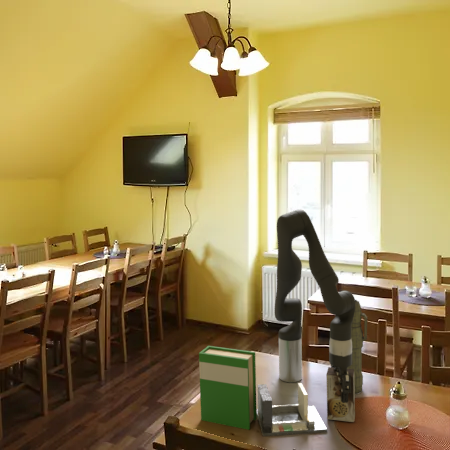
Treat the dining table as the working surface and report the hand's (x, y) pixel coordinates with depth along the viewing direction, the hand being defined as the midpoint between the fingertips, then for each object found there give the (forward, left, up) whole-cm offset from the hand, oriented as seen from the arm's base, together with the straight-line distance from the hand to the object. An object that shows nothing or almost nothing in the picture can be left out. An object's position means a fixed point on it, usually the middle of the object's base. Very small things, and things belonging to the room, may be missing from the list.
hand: (340, 396), depth 164 cm
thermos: (-21, +11, -8) cm, 25 cm away
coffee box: (0, 0, -7) cm, 7 cm away
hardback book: (-4, -38, -8) cm, 39 cm away
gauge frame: (0, -18, -8) cm, 19 cm away
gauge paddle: (+2, -13, -6) cm, 15 cm away
